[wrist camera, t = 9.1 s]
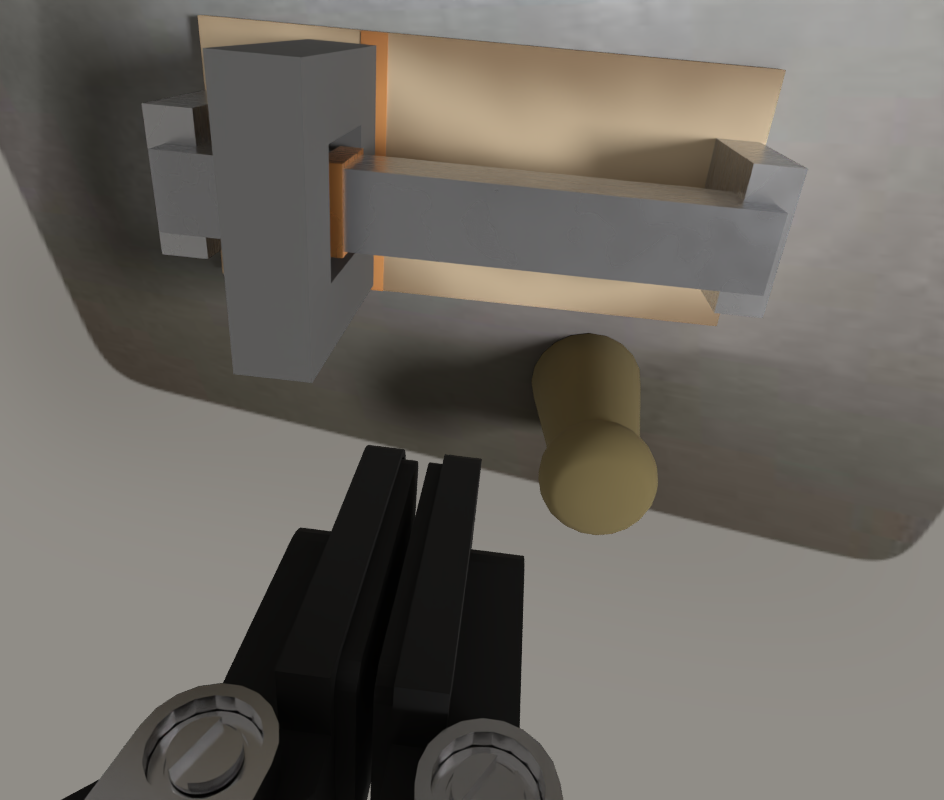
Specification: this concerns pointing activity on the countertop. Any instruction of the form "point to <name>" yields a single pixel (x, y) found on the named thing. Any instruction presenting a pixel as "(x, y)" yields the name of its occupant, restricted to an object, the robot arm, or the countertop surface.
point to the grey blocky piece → (513, 213)
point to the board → (543, 138)
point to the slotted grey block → (286, 196)
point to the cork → (592, 435)
